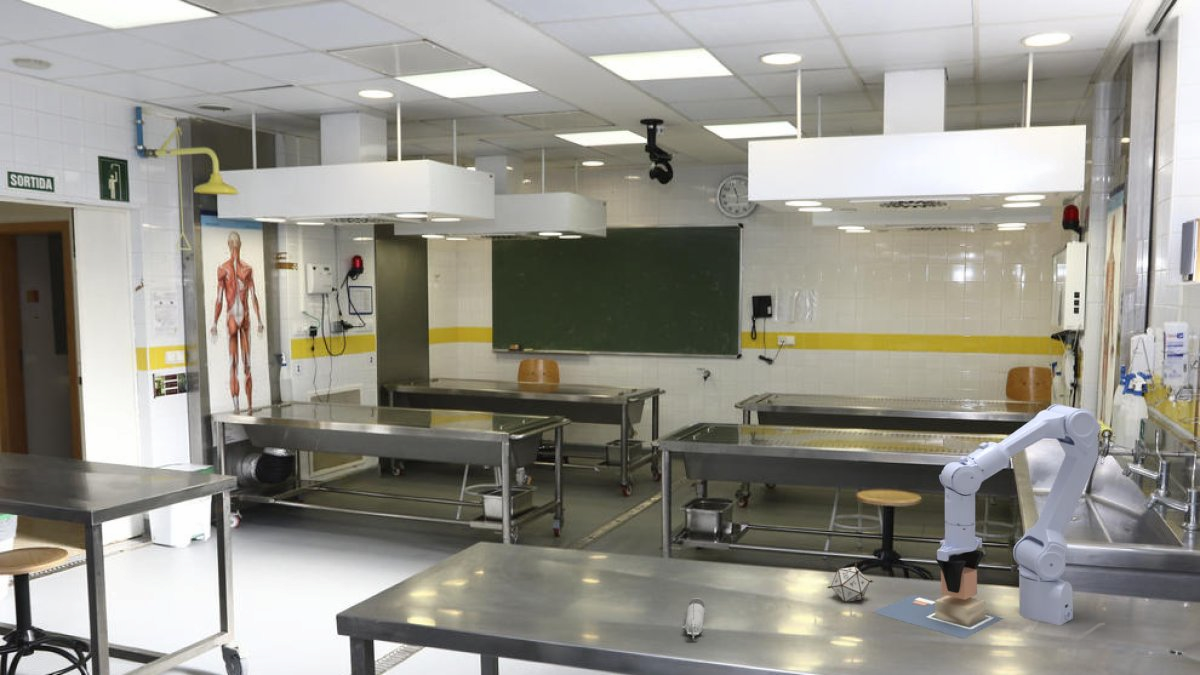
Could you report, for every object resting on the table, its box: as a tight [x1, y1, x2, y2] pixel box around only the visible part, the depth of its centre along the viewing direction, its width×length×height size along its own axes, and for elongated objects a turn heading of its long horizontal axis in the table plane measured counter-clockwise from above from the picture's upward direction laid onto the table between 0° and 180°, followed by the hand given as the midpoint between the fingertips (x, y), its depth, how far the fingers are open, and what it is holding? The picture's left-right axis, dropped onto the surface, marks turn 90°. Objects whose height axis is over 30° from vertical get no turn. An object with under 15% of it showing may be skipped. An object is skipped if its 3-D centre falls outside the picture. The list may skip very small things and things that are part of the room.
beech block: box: [934, 595, 986, 626], centre depth 184 cm, size 7×7×4 cm
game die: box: [826, 562, 874, 603], centre depth 197 cm, size 9×8×10 cm
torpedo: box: [681, 597, 706, 639], centre depth 185 cm, size 18×5×7 cm, turn 172°
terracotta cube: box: [940, 567, 978, 600], centre depth 184 cm, size 5×5×5 cm
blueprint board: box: [871, 594, 1004, 639], centre depth 186 cm, size 20×16×1 cm
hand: (960, 588), depth 184 cm, fingers closed on terracotta cube, 5 cm apart
